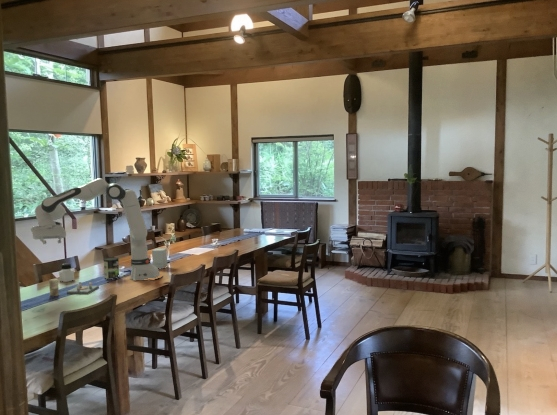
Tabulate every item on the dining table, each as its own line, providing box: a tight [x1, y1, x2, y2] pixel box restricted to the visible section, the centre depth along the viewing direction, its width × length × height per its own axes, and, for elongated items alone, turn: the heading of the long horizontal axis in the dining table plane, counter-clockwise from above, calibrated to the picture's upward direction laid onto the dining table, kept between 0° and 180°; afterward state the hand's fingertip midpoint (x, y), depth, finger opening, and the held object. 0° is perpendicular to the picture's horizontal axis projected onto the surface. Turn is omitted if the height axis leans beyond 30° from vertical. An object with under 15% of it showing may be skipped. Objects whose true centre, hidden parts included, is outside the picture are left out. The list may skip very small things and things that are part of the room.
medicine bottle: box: [58, 262, 75, 283], centre depth 330 cm, size 7×7×12 cm
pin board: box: [66, 281, 99, 295], centre depth 303 cm, size 14×14×5 cm
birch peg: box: [48, 278, 60, 297], centre depth 293 cm, size 5×5×10 cm
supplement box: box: [151, 248, 168, 269], centre depth 364 cm, size 9×9×15 cm
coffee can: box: [103, 257, 120, 280], centre depth 336 cm, size 10×10×14 cm
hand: (52, 243), depth 303 cm, fingers open, 8 cm apart
